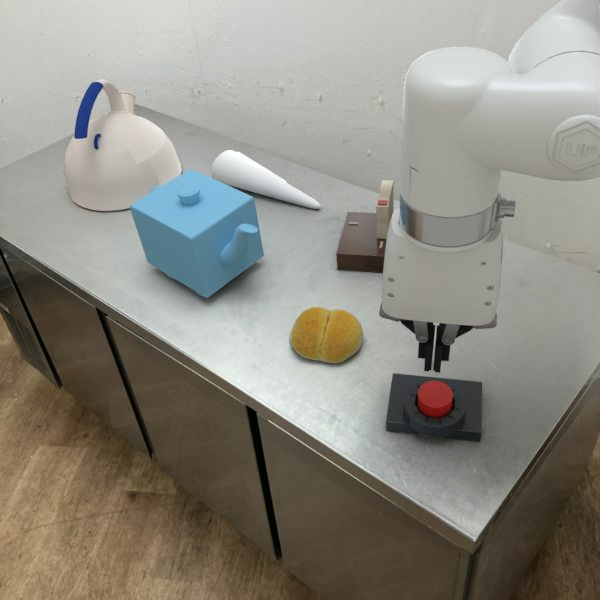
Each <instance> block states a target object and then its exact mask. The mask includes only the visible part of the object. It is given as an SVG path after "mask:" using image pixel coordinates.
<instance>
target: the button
mask: <svg viewBox="0 0 600 600" xmlns="http://www.w3.org/2000/svg"><path fill="white" fill-rule="evenodd" d="M452 401H453V392H452V390H451V388H450V387H449V386H448V385H446V384H445V383H443V382H439V381H429V382H426V383H424V384H423V385H422V386H421V387H420V388H419V391H418V407H419V409H420V411H421V412H422V413H423V414H425V415H427V416H429V417H433V418H439V417H443V416H445V415H447V414H448V413H449V412H450V411H451V408H452Z"/></svg>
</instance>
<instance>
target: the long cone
mask: <svg viewBox="0 0 600 600" xmlns="http://www.w3.org/2000/svg"><path fill="white" fill-rule="evenodd" d="M210 170H211V171H210V175H211V178H212V179H215V180H217V181H219V182H221V183H224V184H226V185H228V186H230V187H232V188H236V189H241V190H244V191H248V192H252V193H254V194H258V195H262V196H265V197H269V198H273V199H276V200H280V201H284V202H287V203H290V204H294V205H298V206H302V207H305V208H309V209H312V210H313V209H314V210H319V209H321V207H322V205H321V204H320V203H319V202H318V201H317V200H316V199H314V198H313V197H312V196H310V195H308V194H306V193H305V192H303V191H301V190H299V189H298V188H296V187H294V186H293V185H291V184H290V183H288V181H287V180H286V179H284V178H282V177H280V176H279V175H277V174H276V173H274V172H273V171H271V170H270V169H268V168H266V167H264V166H263V165H261V164H260V163H258V162H257V161H255V160H253V159H252V158H250V157H248V156H247V155H245V154H243V153H242V152H240V151H235V150H232V149H227V150H224V151H223V152H221V153H220V154H218V156H216V158H215V159H214V161H213V163H212V166H211V169H210Z"/></svg>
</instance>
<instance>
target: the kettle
mask: <svg viewBox="0 0 600 600" xmlns="http://www.w3.org/2000/svg"><path fill="white" fill-rule="evenodd" d="M102 90H103V91H104V92H105V95H106V97H107V99H108V102H109V107H110V111H109V112H107V113H105V114H101V115H98V116H96V117H94V118H92V119H90V118H91V114H92V111H93V108H94V106H95V102H96V100H97V99H98V96H99V94H100V93H101V91H102ZM136 98H137V97H136V96H135V94H134V93H132V92H131V91H128V90H120V91H119V88H118V87H117V86H116V85H115V84H114V82H112V81H110V80H107V79H105V78H100V79H97V80H95V81H94V82H91V83H90V84H89V86H88V87H87V88H86V91H85V92H84V95H83V97H82V99H81V101H80V105H79V107H78V109H77V114H76V119H75V125H74V134H73V136H72V138H71V139H70V141H69V144H68V146H67V148H66V149H65V152H64V160H63V161H64V164H63V176H64V180H65V183H66V187H67V191H68V195H69V197H70V199H71V201H72V202H74V203H75V204H77V205H78V206H79V207H82V208H85V209H88V210H91V211H96V212H117V211H119V212H120V211H125V210H130V207H129V206H130V205H131V204H133V203H134V202H136V201H138V200H140V199H141V198H143V197H144V196H146V195H148V194H149V193H150V191H151V190H152V189H153V188H154V187H156V186H159V185H164V184H166V183H168V182H169V181H171V180H173V179H174V178H176V177H178V176H180V175H181V174H182V171H183V169H182V164H181V161H180V160H179V156H178V155H177V152H176V149H175V146H174V143H173V142H172V140H171V139H170V138H169V137H168V136H167V134H166V133H165V132H164V131H163V129H161V127H159V126H158V125H156V124H155V123H153V122H152V121H150V120H149V119H146V118H145V117H143V116H139V115H136V114H135V106H136V105H135V104H136V102H135V100H136Z"/></svg>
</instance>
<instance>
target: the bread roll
mask: <svg viewBox="0 0 600 600" xmlns="http://www.w3.org/2000/svg"><path fill="white" fill-rule="evenodd" d="M288 341H289V344H290V346H291V347H292V349H293V350H294V351H295V352H296V353H297V354H298V355H299V356H301V357H303V358H305V359H309V360H313V361H320V362H321V361H322V362H324V363H329V364H339V363H342V362H345V361H346V360H347V359H349V358H350V357H352V356H353V355H355V354H356V353H357V352H358V351H359V350H360V349H361V347H362V345H363V341H364V330H363V326H362V324H361V322H360V321H359V319H358V318H357V317H356V316H354V315H353V314H352V313H350V312H349V311H347V310H345V309H340V308H339V309H332V310H330V309H327V308H325V307H321V306H311V307H309V308H306V309H305V310H304V311H302V312H301V313H300V315H298V316H297V318H296V319H295V321H294V322H293V325H292V328H291V330H290V332H289V337H288Z"/></svg>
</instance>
